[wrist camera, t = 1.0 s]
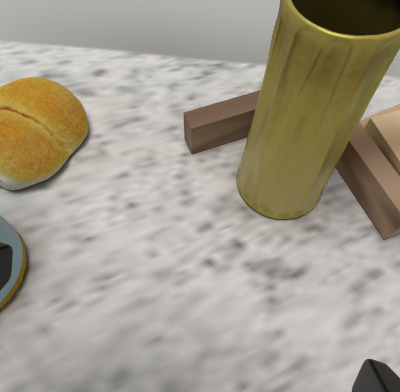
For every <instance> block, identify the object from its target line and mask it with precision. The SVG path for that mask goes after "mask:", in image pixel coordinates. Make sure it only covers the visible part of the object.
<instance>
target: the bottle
mask: <svg viewBox="0 0 400 392" xmlns="http://www.w3.org/2000/svg"><path fill="white" fill-rule="evenodd" d="M0 242H2V243H5V244H9V245H11V247H12V248H13V261H12V274H11V277H10V279H9V281H8V283H7V284H6V285H5V286H4V287H3V288H2V290H1V291H0V308H1V307H2V306H4V305H5V304H6V303H7V302H8V301H9V300H10V298H11V297H12V296H13V294H14V293H15V291H16V290H17V288H18V286H19V285H20V283H21V281H22V278H23V275H24V271H25V268H26V248H25V245H24V243H23V240H22V238H21V236H20V235H19V233H18V232H17V231H16V230H15V229H14V228H13V227H12V226H11V225H10V224H9V223H8V222H7V221H6V220H5V219H4V218H3V217H1V216H0Z"/></svg>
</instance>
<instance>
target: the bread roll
mask: <svg viewBox="0 0 400 392" xmlns="http://www.w3.org/2000/svg"><path fill="white" fill-rule="evenodd" d="M87 133H88V121H87V116H86V113H85V111H84V108H83V106H82V104H81V102H80V101H79V100H78V99H77V98H76V97H75V96H74V95H73V94H72V93H71V92H70V91H69V90H68V89H67V88H65V87H64V86H62V85H61V84H59V83H57V82H54V81H51V80H48V79H45V78H36V77H30V78H23V79H19V80H16V81H13V82H11V83H9V84H6V85H3V86H1V87H0V187H3V188H5V189H8V190H19V189H22V188H26V187H28V186H31V185H34V184H37V183H39V182H41V181H44V180H46V179H49V178H50V177H51V176H53V175H54V174H55V173H56V172H57V171H58V170H59V169H60V168H61V167H62V166H63V165H64V163H65V162H66V161H67V160H68V158H69V156H70V155H71V154H72V153H73V152H74V151H75V150H76V149H77V148H78V147H79V146H80V144H81V143H82V142H83V141H84V139H85V137H86V136H87Z"/></svg>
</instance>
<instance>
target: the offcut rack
mask: <svg viewBox="0 0 400 392" xmlns="http://www.w3.org/2000/svg"><path fill="white" fill-rule="evenodd" d="M260 91H261V90H259V91H256V92H253V93H249V94H246V95H242V96H239V97H236V98H232V99H229V100H225V101H222V102H219V103H215V104H212V105H208V106H205V107H202V108H198V109H195V110H191V111H188V112H185V113H184V133H185V141H186V143H187V145H188V147H189V149H190V152H191V154H194V153H197V152H200V151H203V150H207V149H210V148H213V147H216V146H219V145H222V144H226V143H229V142H232V141H235V140H238V139H241V138H244V137H248V135H249V131H250V128H251V124H252V120H253V117H254V113H255V110H256V106H257V102H258V98H259V94H260ZM335 167H336V168H337V170H338V171H339V173H340V174H341V176H342V177H343V179H344V180H345V182H346V183H347V185H348V186H349V188H350V189H351V191H352V192H353V194H354V195H355V197H356V198H357V200H358V201H359V203H360V204H361V206H362V207H363V209H364V211H365V212H366V214H367V215H368V217H369V218H370V220H371V221H372V223H373V224H374V226H375V227H376V229H377V230H378V232H379V233H380V235H381V236H382V238H383V239H384V240H385V239H388V238H390V237H393V236H395V235H398V234H400V104H399V105H396V106H394V107H392V108H389V109H387V110H384V111H382V112H380V113H377V114H375V115H373V116H370V117H368V118H366V119H363V120H361V121H359V123H358V125H357V126H356V128H355V130H354V132H353V134H352V135H351V137H350V139H349V142H348V144H347V146H346V148H345V150H344V152H343V154H342V155H341V157H340V159H339V161H338V162H337V164H336V166H335Z"/></svg>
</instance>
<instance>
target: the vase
mask: <svg viewBox="0 0 400 392" xmlns="http://www.w3.org/2000/svg"><path fill="white" fill-rule="evenodd" d="M399 49H400V0H281V1H280V8H279V12H278V17H277V20H276V23H275V27H274V31H273V35H272V40H271V45H270V51H269V57H268V62H267V67H266V71H265V75H264V79H263V83H262V87H261V91H260V94H259V98H258V102H257V106H256V110H255V113H254V117H253V120H252V124H251V128H250V131H249V135H248V139H247V143H246V146H245V150H244V154H243V158H242V162H241V164H240V165H239V168H238V171H237V185H238V189H239V192H240V194H241V196H242V197H243V199H244V200H245V201H246V202H247V204H248V205H249V206H250V207H252V208H253V209H254V210H255V211H257V212H259V213H261V214H263V215H265V216H268V217H271V218H275V219H291V218H297V217H300V216H302V215H304V214H306V213H308V212H309V211H311V210H312V209H313V208H314V207H315V206H316V205H317V203H318V202H319V200H320V197H321V195H322V191H323V188H324V186H325V185H326V183H327V181H328V179H329V177H330V175H331V173H332V171H333V169H334V168H335V166H336V164H337V162H338V161H339V159H340V157H341V155H342V154H343V152H344V150H345V148H346V146H347V144H348V142H349V139H350V137H351V135H352V134H353V132H354V130H355V128H356V126H357V125H358V123H359V121H360V119H361V118H362V116H363V114H364V112H365V110H366V108H367V106H368V104H369V102H370V100H371V98H372V96H373V95H374V93H375V91H376V89H377V88H378V86H379V84H380V82H381V80H382V79H383V77H384V75H385V73H386V71H387V70H388V68H389V66H390V64H391V62H392V61H393V59H394V57H395V56H396V54H397V52H398V51H399Z"/></svg>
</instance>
